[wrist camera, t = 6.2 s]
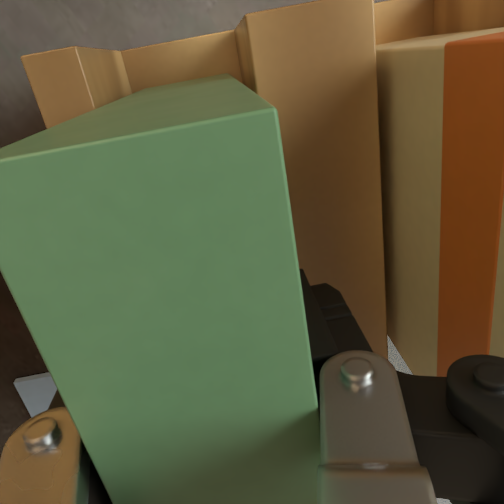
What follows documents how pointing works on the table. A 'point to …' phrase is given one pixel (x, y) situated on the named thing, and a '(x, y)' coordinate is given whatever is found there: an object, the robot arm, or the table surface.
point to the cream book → (443, 195)
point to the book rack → (290, 114)
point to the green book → (169, 293)
